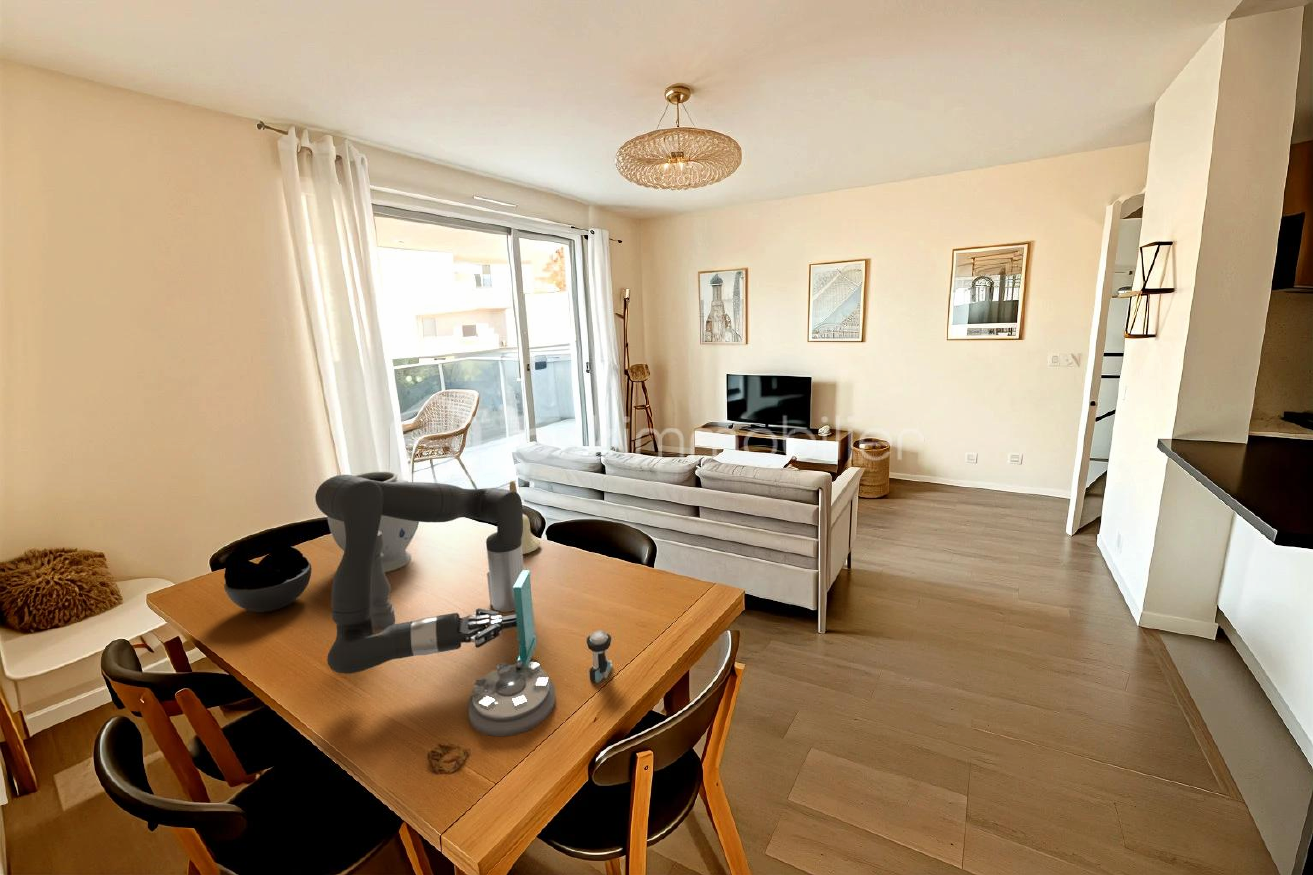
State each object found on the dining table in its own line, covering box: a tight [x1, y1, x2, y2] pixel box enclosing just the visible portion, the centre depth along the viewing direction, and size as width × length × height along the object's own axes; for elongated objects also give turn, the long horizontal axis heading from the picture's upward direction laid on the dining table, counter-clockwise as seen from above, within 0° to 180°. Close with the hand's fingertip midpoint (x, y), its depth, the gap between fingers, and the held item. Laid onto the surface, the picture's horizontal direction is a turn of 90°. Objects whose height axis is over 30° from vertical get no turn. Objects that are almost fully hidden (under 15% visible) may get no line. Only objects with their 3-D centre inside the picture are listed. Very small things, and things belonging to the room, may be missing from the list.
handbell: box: [509, 480, 541, 555], centre depth 185 cm, size 15×15×25 cm
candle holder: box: [370, 531, 396, 631], centre depth 140 cm, size 6×6×25 cm
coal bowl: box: [223, 538, 312, 613], centre depth 151 cm, size 20×20×19 cm
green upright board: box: [471, 569, 550, 722], centre depth 113 cm, size 26×15×19 cm, turn 0°
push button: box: [586, 630, 613, 684], centre depth 118 cm, size 7×5×10 cm
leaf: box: [426, 741, 471, 775], centre depth 96 cm, size 6×7×2 cm
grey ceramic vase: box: [326, 471, 420, 574], centre depth 176 cm, size 27×27×30 cm
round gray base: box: [467, 678, 556, 737], centre depth 110 cm, size 17×17×2 cm
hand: (519, 619), depth 120 cm, fingers closed
